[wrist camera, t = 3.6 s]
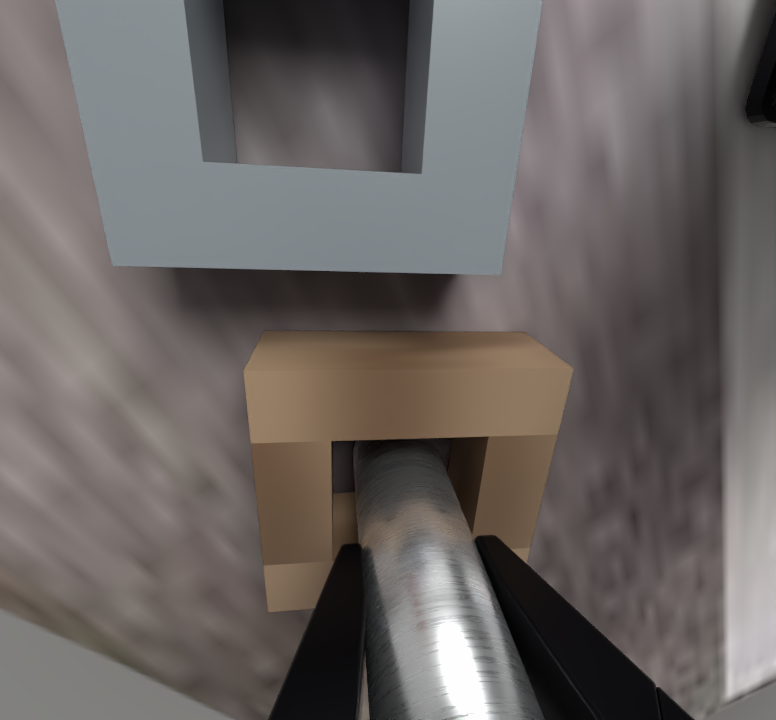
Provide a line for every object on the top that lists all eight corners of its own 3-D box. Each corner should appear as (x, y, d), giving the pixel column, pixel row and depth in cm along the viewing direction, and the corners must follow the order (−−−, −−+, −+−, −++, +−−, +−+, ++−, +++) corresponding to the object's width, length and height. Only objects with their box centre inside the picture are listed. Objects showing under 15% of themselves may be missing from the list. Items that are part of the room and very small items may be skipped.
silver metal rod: (438, 415, 11) (630, 832, 4) (431, 484, 12) (576, 927, 5) (353, 417, 11) (388, 873, 4) (352, 487, 12) (378, 964, 5)
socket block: (524, 332, 11) (574, 368, 9) (489, 525, 14) (519, 592, 11) (264, 330, 10) (243, 370, 8) (280, 537, 13) (268, 612, 11)
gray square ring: (507, -132, 7) (584, -276, 5) (463, 256, 10) (500, 275, 8) (96, -197, 6) (-34, -408, 4) (168, 247, 9) (112, 265, 7)
